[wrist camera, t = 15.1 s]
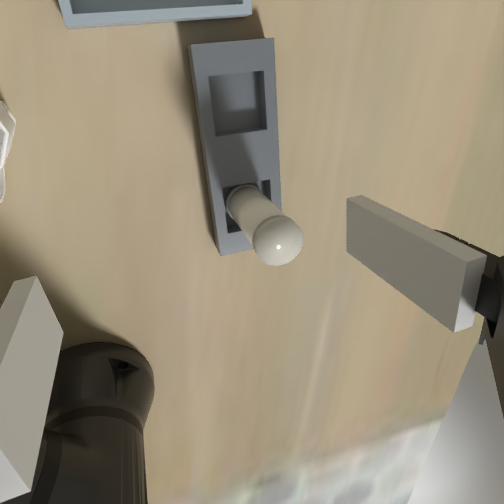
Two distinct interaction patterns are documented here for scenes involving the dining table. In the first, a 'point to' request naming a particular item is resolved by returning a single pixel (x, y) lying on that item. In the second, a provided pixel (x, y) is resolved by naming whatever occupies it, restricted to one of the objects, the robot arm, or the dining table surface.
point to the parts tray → (148, 11)
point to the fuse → (264, 224)
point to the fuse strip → (236, 126)
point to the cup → (5, 141)
